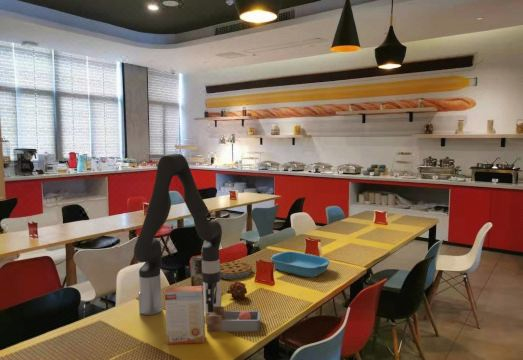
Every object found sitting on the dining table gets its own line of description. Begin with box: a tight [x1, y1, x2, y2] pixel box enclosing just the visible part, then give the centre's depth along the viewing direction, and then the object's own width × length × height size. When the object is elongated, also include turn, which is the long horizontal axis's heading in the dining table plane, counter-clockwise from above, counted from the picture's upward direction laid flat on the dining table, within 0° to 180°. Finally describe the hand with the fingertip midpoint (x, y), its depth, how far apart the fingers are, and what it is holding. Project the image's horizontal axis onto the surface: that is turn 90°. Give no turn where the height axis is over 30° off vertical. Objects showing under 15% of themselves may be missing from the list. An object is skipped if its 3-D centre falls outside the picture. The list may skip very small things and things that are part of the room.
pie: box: [220, 260, 253, 280], centre depth 229 cm, size 22×22×5 cm
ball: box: [239, 310, 251, 320], centre depth 164 cm, size 5×5×5 cm
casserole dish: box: [270, 251, 330, 278], centre depth 233 cm, size 37×22×7 cm, turn 51°
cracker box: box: [164, 285, 206, 345], centre depth 153 cm, size 14×6×21 cm, turn 92°
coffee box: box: [189, 255, 203, 286], centre depth 207 cm, size 9×6×16 cm
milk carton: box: [203, 279, 222, 315], centre depth 179 cm, size 7×7×19 cm
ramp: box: [206, 305, 226, 332], centre depth 165 cm, size 7×9×6 cm
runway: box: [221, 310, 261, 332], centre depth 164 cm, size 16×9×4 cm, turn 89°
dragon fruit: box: [226, 280, 248, 300], centre depth 194 cm, size 8×8×12 cm
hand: (212, 307), depth 164 cm, fingers open, 8 cm apart
